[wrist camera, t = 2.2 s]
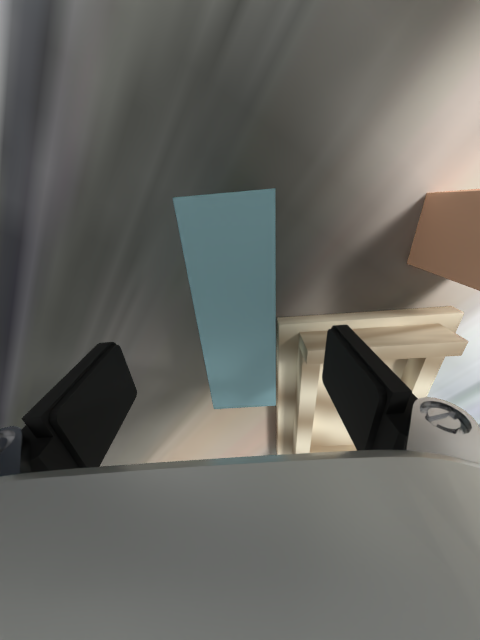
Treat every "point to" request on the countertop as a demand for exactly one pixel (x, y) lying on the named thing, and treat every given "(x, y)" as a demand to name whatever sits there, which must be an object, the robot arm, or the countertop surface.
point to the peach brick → (449, 237)
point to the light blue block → (233, 291)
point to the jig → (385, 341)
